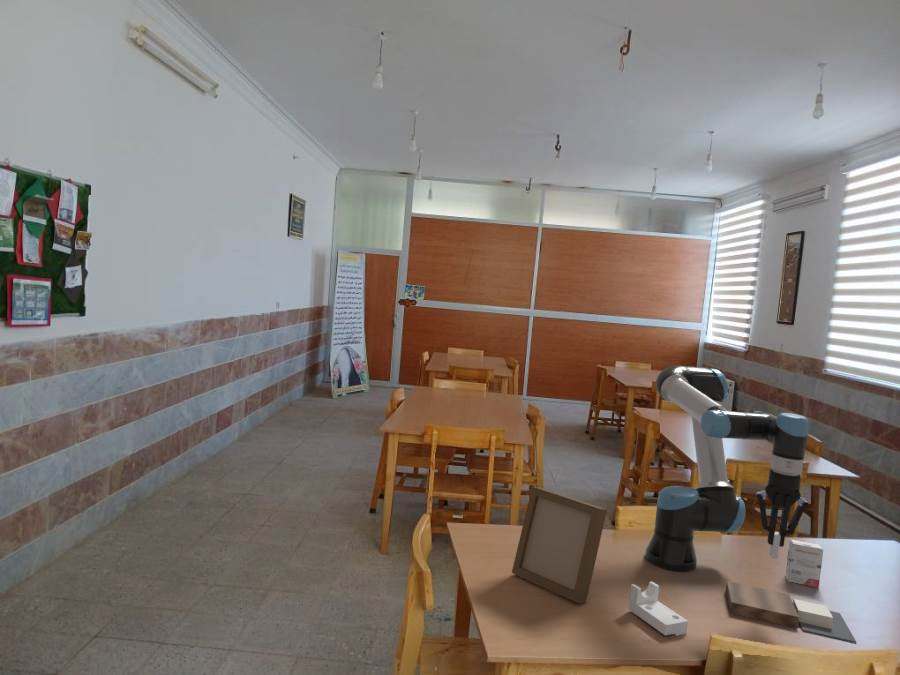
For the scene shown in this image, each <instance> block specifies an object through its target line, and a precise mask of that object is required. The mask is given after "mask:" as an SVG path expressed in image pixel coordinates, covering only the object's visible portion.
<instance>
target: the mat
mask: <svg viewBox="0 0 900 675" xmlns="http://www.w3.org/2000/svg"><path fill="white" fill-rule="evenodd" d="M829 611H830V613H831V615H832V617H833V622H832V629H829V628H825V627H820V626H816V625H812V624H807V623H803V622H798V625H799V627H800V629H801V631H802V632H805V633H810V634H813V635H819V636H823V637H827V638H831V639H836V640H840V641H845V642H848V641H850V642H849V643H853V642H854V643H853V644H857V640H856V638H855V637H854V635H853V633H852V632H851V629H850V628H849V626H848V625H847V623H846V621H845V619H844V618H843V616H842V614H841V612H837V611H832V610H829Z"/></svg>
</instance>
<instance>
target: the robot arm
mask: <svg viewBox="0 0 900 675" xmlns="http://www.w3.org/2000/svg"><path fill="white" fill-rule="evenodd" d="M728 385H729V384H728V381H727V378H726V376H725V374H724V373H722V372H721V371H720V370H719V369H716V368H710V367H706V366H705V367H704V366H703V367H702V366H700V367H699V366H685V365H671V366H668V367H666V368H664V369H663V370H661V371H660V373H659V374H658V375H657V377H656V380H655V389H656V391H657V393H658V395H659V396H660V397H661V398H662V399H664V400H665V402H668V403H671V404H675V405H677V406H678V407H679V408H681V409H682V410H683V411H685V412H686V413H688V414H689V415H690V416H691V423H692V431H693V437H694V438H693V439H694V448H695V455H696V456H695V457H696V465H697V472H698V482H699V483H698V485H697V486H696V487H695V488H693V487H690V486H683V485H670V486H665V487H663V488H662V489H661V490H660V491H659V493H658V497H657V500H656V501H657V502H656V512H655V521H654V530H653V535H652V537H651V539H650V541H649V543H648V545H647V547H646V549H645V559H646V560H647V561H648V562H649V563H650V564H653V565H655V566H657V567H658V568H662V569H664V570H668V571H673V572H680V573H681V572H684V573H687V572H693V571H694V570H695V569H696V568H697V556H696V550H695V545H694V534H695V532H710V533H711V532H714V533H720V534H725V533H735V532H736V531H739V529H741V528H742V525H743V523H744V522H745V519H746V505H745V501H744V500H743V498H742V497H741V495H739V494H736V492H735V487H734V486H733V485H732V484H731V483H729V479H728V471H727V464H726V457H725V451H724V450H725V449H724V441H723V439H731V440H732V439H734V440H736V439H737V440H749V441H750V440H752V441H764V442H767V443H770V444H772V451H771V452H772V454H771V459H770V468H771V469H769V472H768V473H769V474H768V480H767V485H766V487H765V488H764V490H761V491H755V496H756V498H757V500H758V505H759V513H760V519H761V521H760V522H761V526H762V528H763V530H765V531H766V532H768V534H767V543H768V545H770V550H769V556H770V558H771V559H775V560H778V557H779V549H780V547H781V548H783V547H784V546H785V539H786V536H788V535H790V536H792V535H794V533H795V531H796V529H797V526H798V524H799V522H800V520H801V517H802V515H803V513H804V512H805V510H806V509H807V508H808V507H809V506H810V504H809V502H808V500H806V499H804V498H803V497H802V495H801V493H800V487H801V482H802V476H801V474H802V473H803V467H804V459H805V453H806V448H807V447H806V446H807V440H808V435H809V419H808V417H806V416H804V415H800V414H798V413H797V414H796V413H790V412H781V413H778V414H777V415H773V414H772V413H769V412H767V411H761V410H754V411H752V412H742V411H732V410H729V409H727V408H725V407H724V406H723V402H725V401H726V399H727V398H728V392H729V386H728ZM767 497H768V499H769V500H770V502H771V510H770V518H769V524H768V516H767V509H766V503H765V500H766V499H767ZM796 502H797V506H796V508H795V510H794V512H793V514H792V517H791V519H790V521H788V520H789V516H790V515H789V513H790V511H791V510H790V509H791V507H792V506H793V505H794V504H795V503H796ZM780 507H782V509H781V515H780V521H779V522H780V524H779V530H778V531H776V528H777V520H778V514H779V510H780ZM788 522H789V524H788Z"/></svg>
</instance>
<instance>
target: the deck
mask: <svg viewBox="0 0 900 675" xmlns="http://www.w3.org/2000/svg"><path fill="white" fill-rule="evenodd" d="M725 594H726V599H727V603H728V609H729V613H730V614H733V615H738V616H742V617H747V618H750V619H755V620H759V621H764V622H767V623H772V624H777V625H781V626H784V627H785V626H786V627H790V628H795V629H798V626H799V622H798V620H799V616H798V614H797V612H796V609H795V607H794V605H793V600H792V598H791V596H790V594H789V593H786V592H780V591H777V590H775V591H774V590H771V589H765V588H761V587H758V586H757V587H756V586H753V585H747V584H742V583H738V582H733V581H728V580H726V584H725Z"/></svg>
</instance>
